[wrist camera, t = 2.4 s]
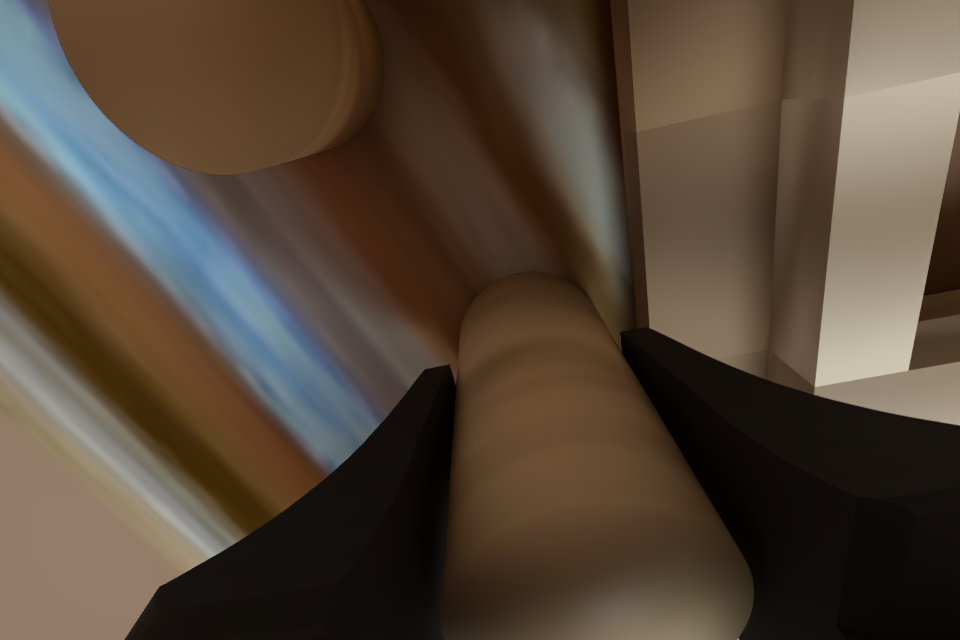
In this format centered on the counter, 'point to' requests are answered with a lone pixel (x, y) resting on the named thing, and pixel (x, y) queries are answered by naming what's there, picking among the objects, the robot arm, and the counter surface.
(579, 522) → the long oak dowel
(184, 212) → the counter surface
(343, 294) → the counter surface
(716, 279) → the collar board
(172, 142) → the short oak dowel
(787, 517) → the robot arm
